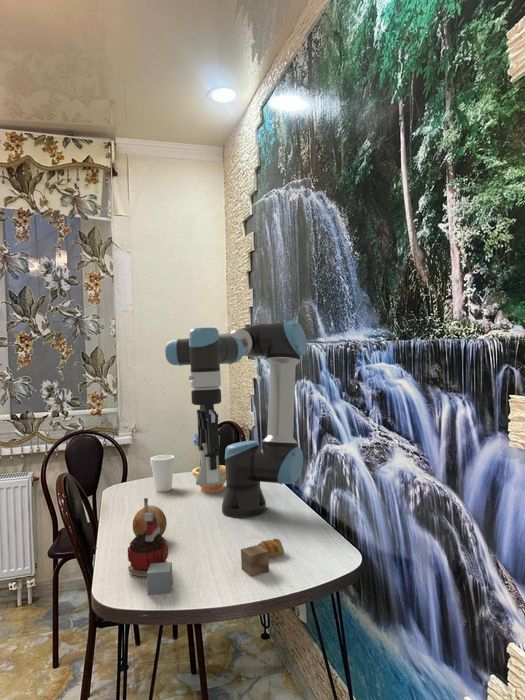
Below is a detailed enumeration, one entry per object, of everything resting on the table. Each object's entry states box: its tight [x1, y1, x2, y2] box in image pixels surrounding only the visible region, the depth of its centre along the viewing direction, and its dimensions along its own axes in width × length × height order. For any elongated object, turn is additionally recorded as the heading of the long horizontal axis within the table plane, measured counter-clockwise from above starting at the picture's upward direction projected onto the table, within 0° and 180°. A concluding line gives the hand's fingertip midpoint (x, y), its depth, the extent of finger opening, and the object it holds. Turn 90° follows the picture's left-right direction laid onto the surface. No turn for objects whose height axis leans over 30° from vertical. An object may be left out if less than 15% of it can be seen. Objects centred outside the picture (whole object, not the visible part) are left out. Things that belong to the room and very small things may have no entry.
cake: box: [127, 497, 169, 577], centre depth 120 cm, size 11×9×18 cm
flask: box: [195, 443, 223, 486], centre depth 121 cm, size 7×7×10 cm
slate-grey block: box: [146, 561, 174, 596], centre depth 110 cm, size 5×5×5 cm
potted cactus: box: [192, 430, 226, 493], centre depth 192 cm, size 15×15×25 cm
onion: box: [132, 505, 168, 537], centre depth 139 cm, size 10×10×10 cm
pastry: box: [257, 538, 285, 560], centre depth 126 cm, size 9×7×4 cm
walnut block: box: [240, 544, 270, 578], centre depth 117 cm, size 5×5×5 cm
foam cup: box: [150, 454, 175, 493], centre depth 194 cm, size 10×9×13 cm
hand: (209, 478), depth 121 cm, fingers closed on flask, 7 cm apart
